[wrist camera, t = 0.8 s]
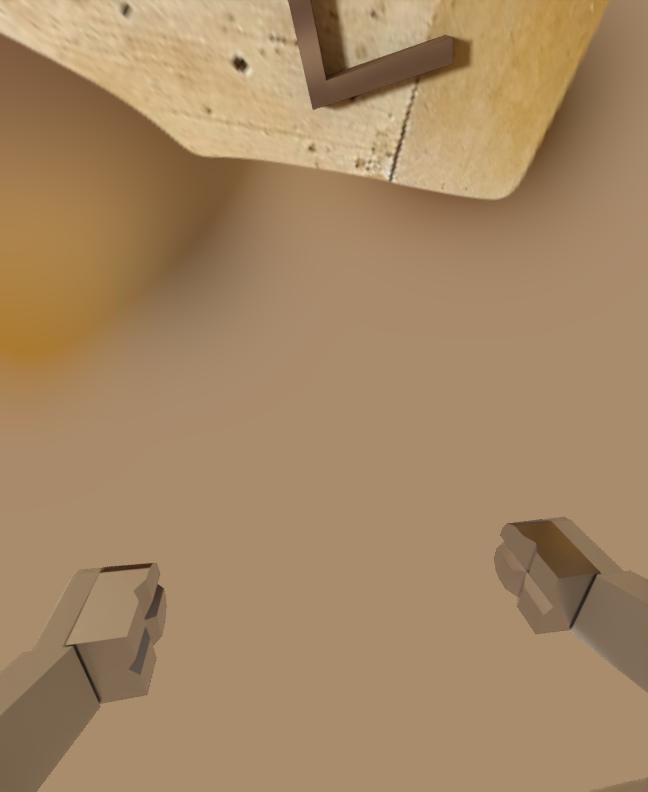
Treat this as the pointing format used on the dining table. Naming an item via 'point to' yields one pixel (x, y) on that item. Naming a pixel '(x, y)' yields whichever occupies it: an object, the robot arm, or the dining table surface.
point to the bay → (364, 74)
